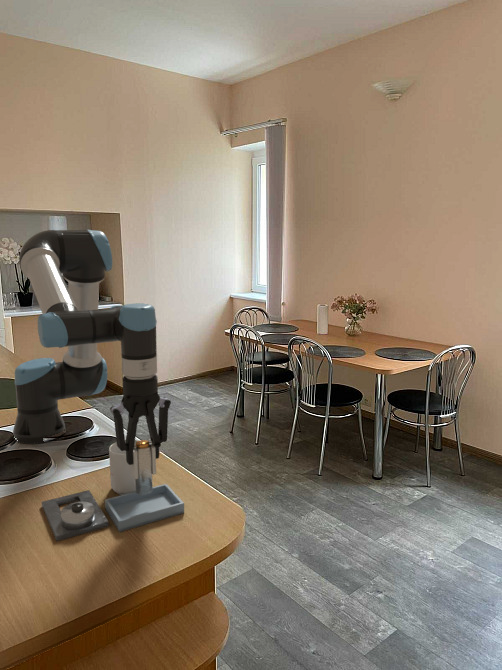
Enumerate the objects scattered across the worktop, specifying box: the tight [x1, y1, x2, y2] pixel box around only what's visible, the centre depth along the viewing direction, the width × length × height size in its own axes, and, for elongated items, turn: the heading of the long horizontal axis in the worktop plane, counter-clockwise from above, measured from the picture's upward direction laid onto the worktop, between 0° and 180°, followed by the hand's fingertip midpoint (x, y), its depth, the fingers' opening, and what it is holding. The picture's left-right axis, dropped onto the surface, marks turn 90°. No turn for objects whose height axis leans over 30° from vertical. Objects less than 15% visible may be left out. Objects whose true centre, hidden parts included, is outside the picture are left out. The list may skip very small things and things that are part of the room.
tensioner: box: [41, 489, 110, 542], centre depth 120 cm, size 16×11×5 cm
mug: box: [108, 439, 140, 496], centre depth 133 cm, size 12×9×11 cm
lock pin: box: [134, 439, 154, 495], centre depth 120 cm, size 4×4×12 cm
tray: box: [104, 483, 185, 533], centre depth 122 cm, size 15×11×2 cm
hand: (143, 474), depth 121 cm, fingers closed on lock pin, 3 cm apart
